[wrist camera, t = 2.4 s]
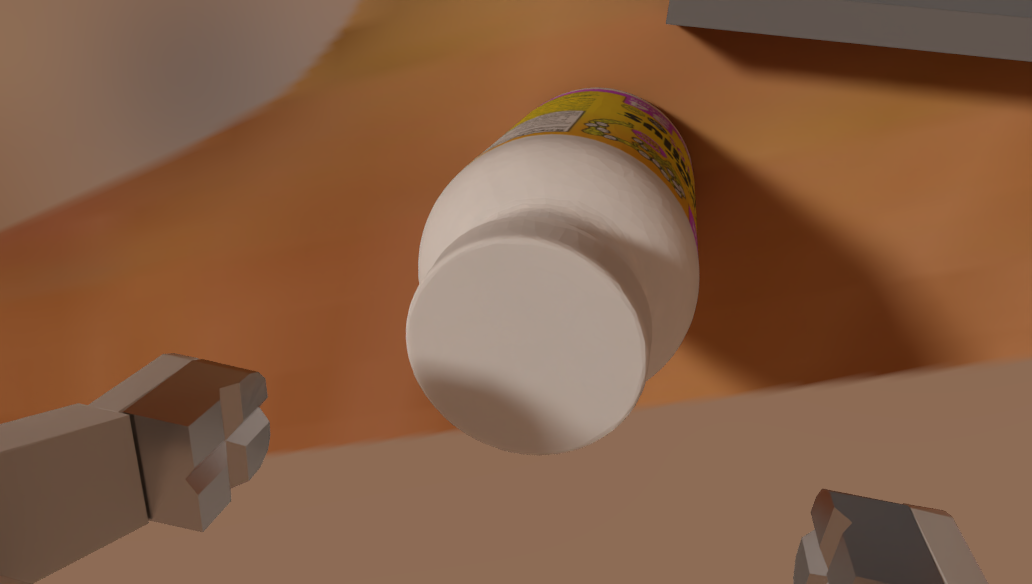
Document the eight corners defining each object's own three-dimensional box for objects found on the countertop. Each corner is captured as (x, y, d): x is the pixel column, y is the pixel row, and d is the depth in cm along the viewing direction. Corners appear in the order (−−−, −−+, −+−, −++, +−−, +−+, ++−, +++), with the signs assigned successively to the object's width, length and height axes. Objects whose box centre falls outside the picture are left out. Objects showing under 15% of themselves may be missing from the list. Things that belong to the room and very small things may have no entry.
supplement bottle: (717, 237, 24) (750, 470, 13) (545, 286, 26) (441, 522, 15) (659, 50, 22) (637, 127, 10) (478, 122, 24) (296, 248, 13)
